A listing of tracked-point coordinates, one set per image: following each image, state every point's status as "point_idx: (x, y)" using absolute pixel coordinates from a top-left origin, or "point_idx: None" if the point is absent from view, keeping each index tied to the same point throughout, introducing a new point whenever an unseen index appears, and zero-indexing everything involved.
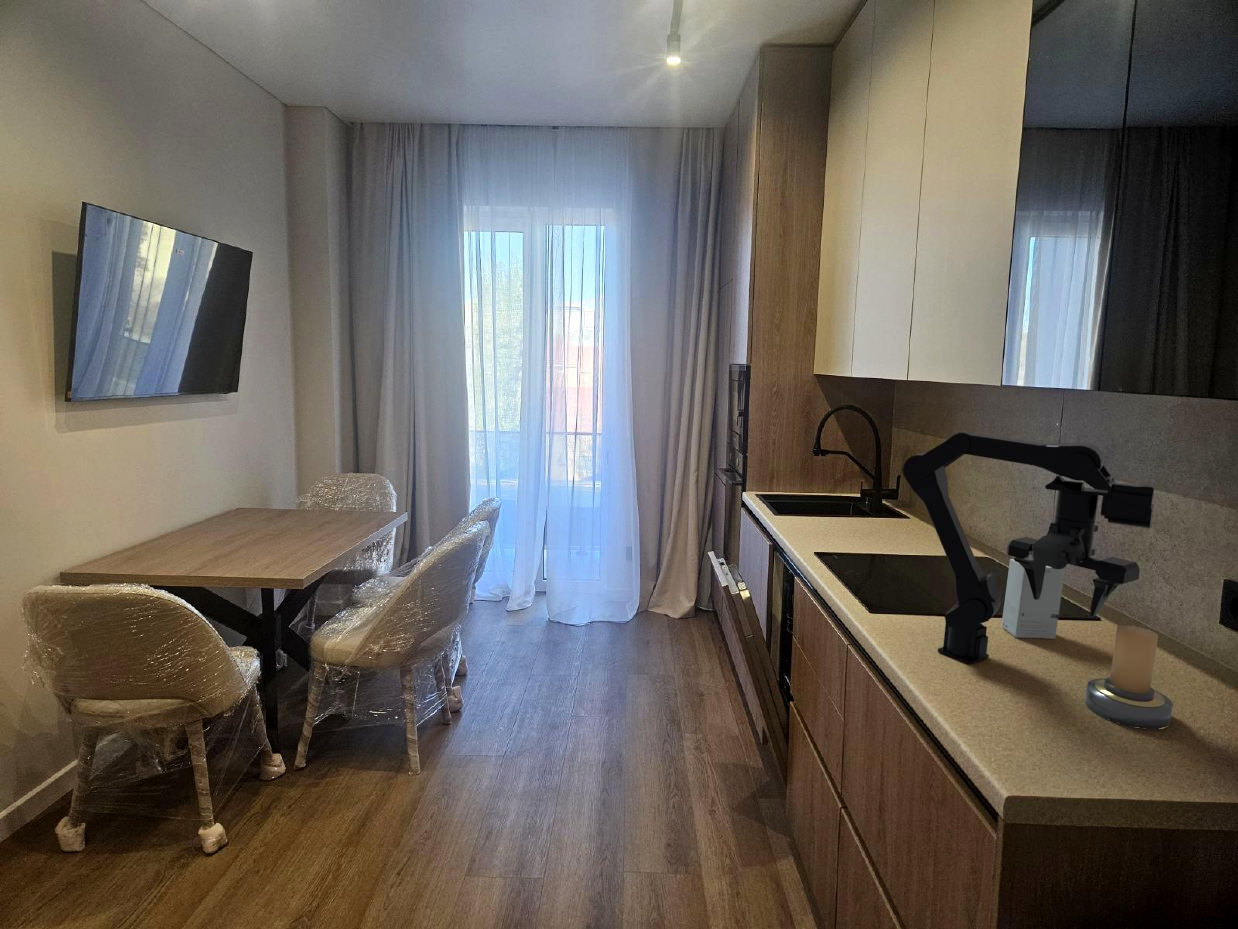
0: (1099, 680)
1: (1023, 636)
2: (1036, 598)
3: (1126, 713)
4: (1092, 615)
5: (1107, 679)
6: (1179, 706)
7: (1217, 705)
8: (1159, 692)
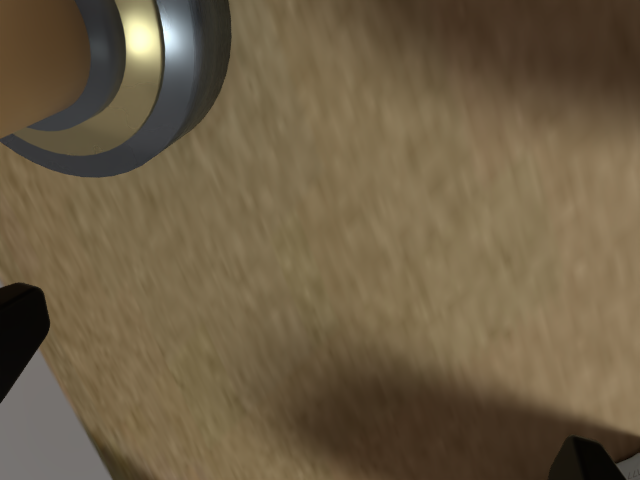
0: (159, 60)
1: (625, 463)
2: (571, 447)
3: None
4: (11, 284)
5: (95, 27)
6: (58, 216)
7: None
8: (14, 150)
